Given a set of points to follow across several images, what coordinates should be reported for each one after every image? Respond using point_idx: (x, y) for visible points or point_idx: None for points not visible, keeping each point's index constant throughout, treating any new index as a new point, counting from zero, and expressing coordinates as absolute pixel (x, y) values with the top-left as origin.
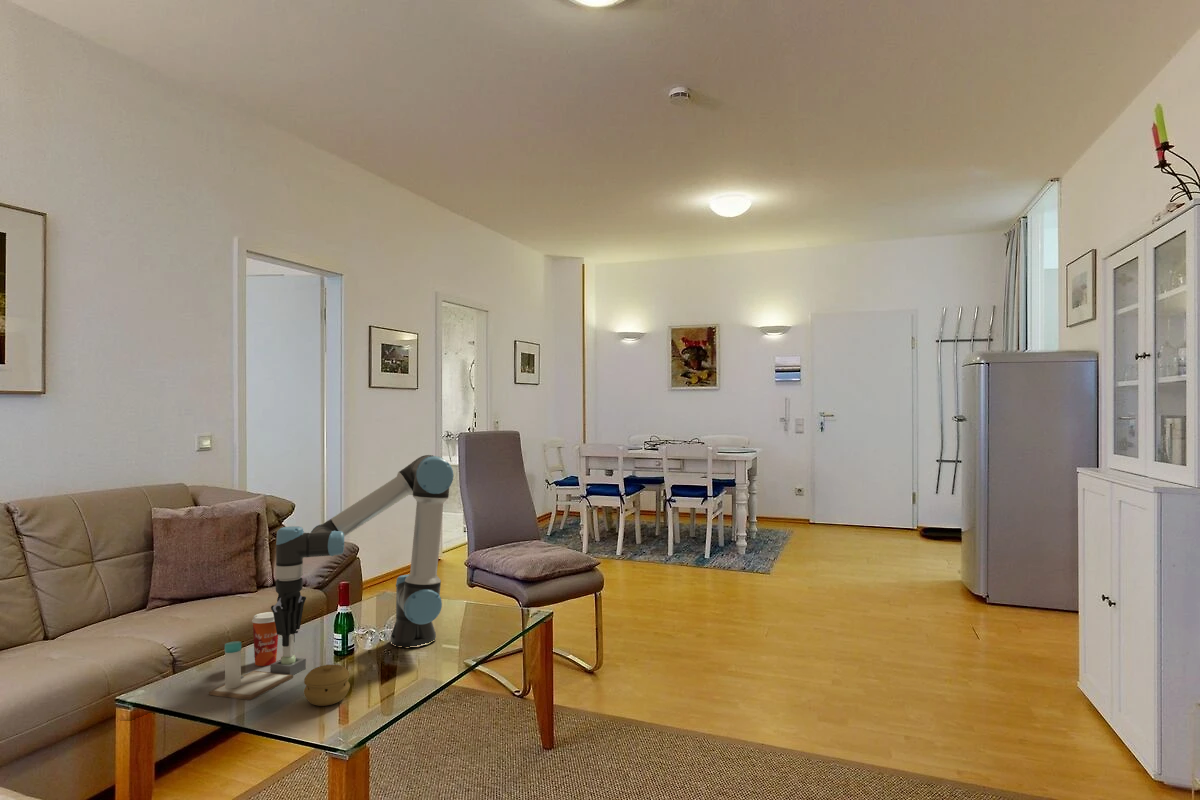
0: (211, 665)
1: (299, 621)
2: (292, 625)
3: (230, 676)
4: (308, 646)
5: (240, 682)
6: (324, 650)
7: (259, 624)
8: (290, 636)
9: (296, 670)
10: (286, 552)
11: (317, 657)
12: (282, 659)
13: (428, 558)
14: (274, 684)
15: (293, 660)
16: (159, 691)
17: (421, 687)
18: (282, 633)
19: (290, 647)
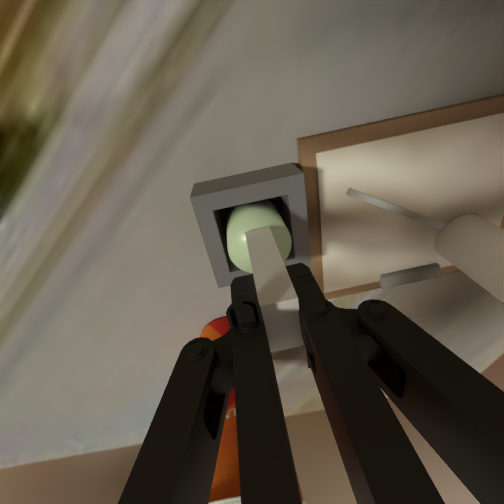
0: (304, 405)
1: (182, 404)
2: (274, 376)
3: None
4: (47, 358)
5: (462, 224)
6: (16, 290)
7: (301, 497)
8: (295, 294)
9: (254, 174)
10: None
11: (81, 250)
12: (289, 245)
13: None
14: (415, 117)
15: (254, 211)
16: (467, 358)
17: None
18: (395, 317)
19: (278, 250)
